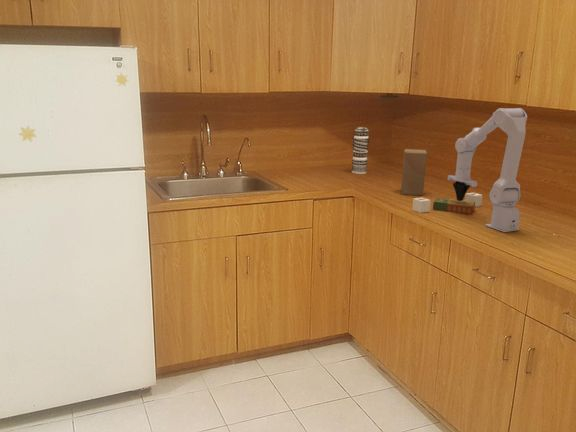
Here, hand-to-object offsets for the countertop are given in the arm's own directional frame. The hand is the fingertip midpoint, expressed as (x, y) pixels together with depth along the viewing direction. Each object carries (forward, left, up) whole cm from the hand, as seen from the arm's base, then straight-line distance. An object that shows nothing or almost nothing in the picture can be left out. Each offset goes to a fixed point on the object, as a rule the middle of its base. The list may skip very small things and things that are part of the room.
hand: (459, 200), depth 223 cm
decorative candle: (+87, -9, -5) cm, 88 cm away
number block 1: (+7, +14, -5) cm, 16 cm away
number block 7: (+6, -14, -5) cm, 16 cm away
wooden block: (+35, -4, -5) cm, 36 cm away
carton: (+3, 0, -5) cm, 6 cm away
